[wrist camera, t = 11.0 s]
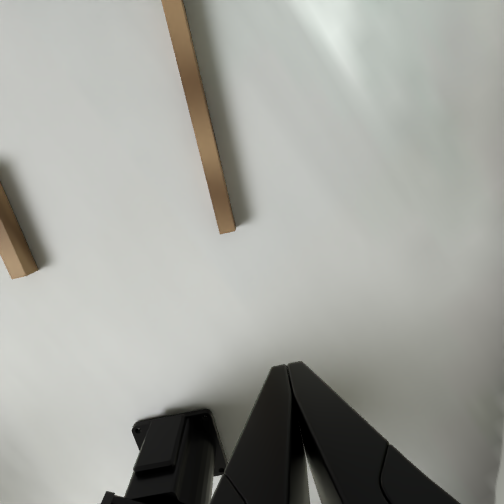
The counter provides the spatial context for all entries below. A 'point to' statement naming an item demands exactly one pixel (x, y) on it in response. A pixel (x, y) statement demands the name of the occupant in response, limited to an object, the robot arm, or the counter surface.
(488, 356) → the counter surface
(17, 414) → the counter surface
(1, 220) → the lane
